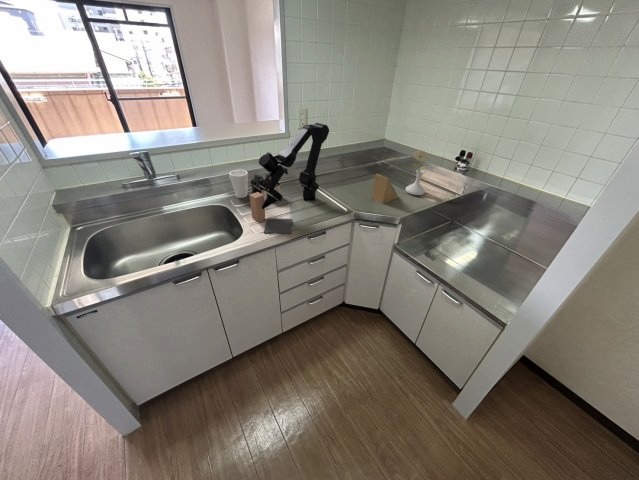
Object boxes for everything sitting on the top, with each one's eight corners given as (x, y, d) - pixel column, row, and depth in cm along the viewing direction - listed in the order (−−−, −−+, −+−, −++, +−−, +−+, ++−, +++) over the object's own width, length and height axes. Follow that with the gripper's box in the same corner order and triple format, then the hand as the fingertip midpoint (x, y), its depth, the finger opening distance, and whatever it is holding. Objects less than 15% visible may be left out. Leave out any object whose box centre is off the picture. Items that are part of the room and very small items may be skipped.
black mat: (291, 219, 127) (291, 218, 127) (290, 233, 117) (290, 232, 117) (266, 219, 126) (266, 218, 126) (263, 233, 116) (263, 232, 116)
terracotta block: (260, 215, 129) (257, 191, 122) (265, 218, 127) (263, 195, 120) (252, 218, 127) (249, 194, 119) (257, 221, 124) (255, 197, 117)
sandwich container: (399, 197, 154) (405, 172, 145) (382, 204, 146) (388, 178, 137) (388, 192, 159) (393, 168, 151) (371, 198, 151) (375, 173, 143)
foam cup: (234, 191, 150) (231, 169, 142) (251, 191, 150) (248, 169, 143) (231, 199, 142) (227, 176, 134) (248, 199, 143) (246, 176, 135)
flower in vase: (427, 194, 159) (440, 153, 145) (415, 198, 153) (428, 156, 139) (410, 186, 168) (421, 147, 153) (398, 190, 162) (408, 149, 148)
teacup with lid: (281, 194, 150) (280, 174, 143) (280, 201, 142) (279, 181, 135) (260, 193, 149) (258, 174, 142) (257, 200, 142) (255, 180, 135)
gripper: (251, 162, 121) (233, 190, 120) (276, 173, 110) (256, 205, 110) (266, 174, 130) (249, 201, 130) (290, 186, 120) (272, 215, 119)
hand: (256, 205), depth 122 cm, fingers open, 9 cm apart
